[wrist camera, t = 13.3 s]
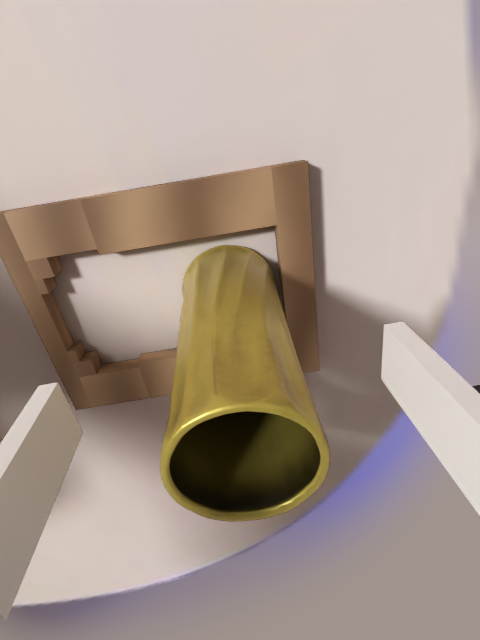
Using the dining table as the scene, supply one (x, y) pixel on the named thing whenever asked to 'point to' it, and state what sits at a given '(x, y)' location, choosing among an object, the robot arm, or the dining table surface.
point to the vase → (239, 397)
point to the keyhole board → (150, 230)
